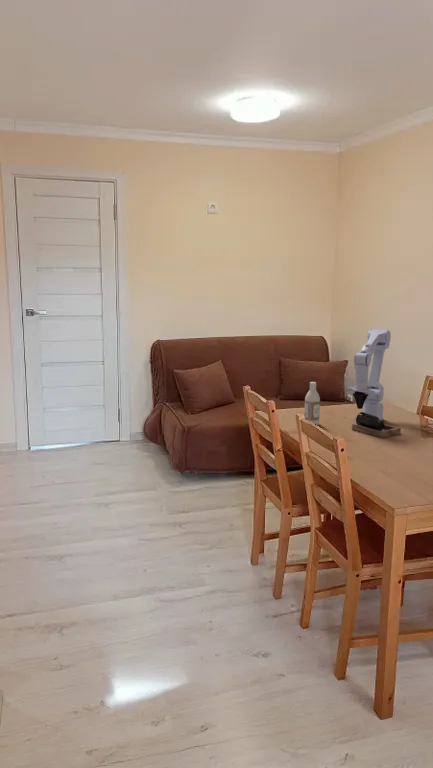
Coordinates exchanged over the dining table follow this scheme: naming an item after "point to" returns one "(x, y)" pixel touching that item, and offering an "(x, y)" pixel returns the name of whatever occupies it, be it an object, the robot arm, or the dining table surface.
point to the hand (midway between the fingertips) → (359, 408)
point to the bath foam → (312, 405)
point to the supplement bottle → (369, 421)
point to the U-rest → (385, 432)
